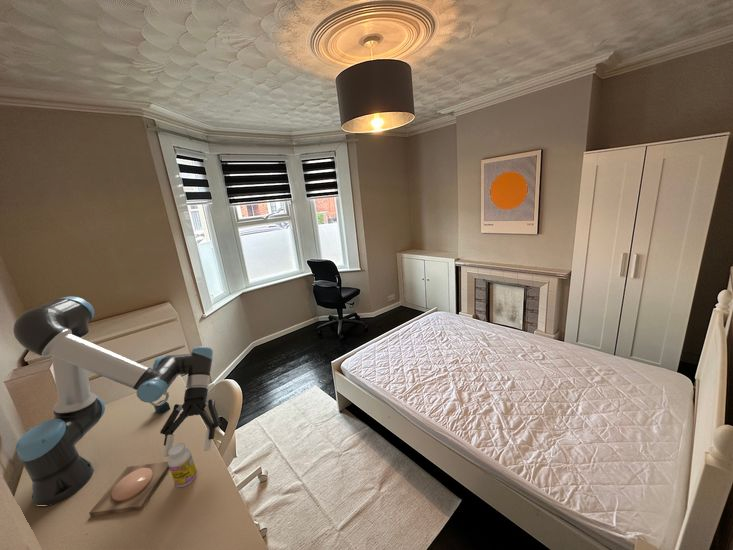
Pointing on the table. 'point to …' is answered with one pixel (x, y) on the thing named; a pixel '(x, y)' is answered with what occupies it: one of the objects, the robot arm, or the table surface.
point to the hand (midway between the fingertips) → (187, 453)
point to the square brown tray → (138, 501)
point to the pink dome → (132, 484)
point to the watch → (162, 404)
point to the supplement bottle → (181, 465)
